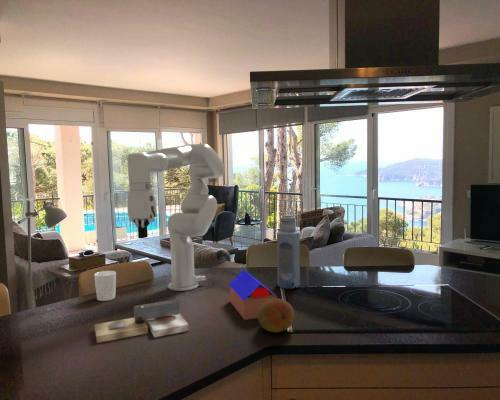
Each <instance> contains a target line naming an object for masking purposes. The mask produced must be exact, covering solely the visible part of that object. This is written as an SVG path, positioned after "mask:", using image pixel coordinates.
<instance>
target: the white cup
mask: <svg viewBox="0 0 500 400" xmlns="http://www.w3.org/2000/svg"><path fill="white" fill-rule="evenodd" d="M116 278H117V272H116V271H114V270H102V271H98V272H95V273H94V286H95V292H96V300H97V301H99V302H100V301H101V302H106V301H108V302H109V301H112V300H114V299H115V298H116V290H117V289H116V287H117V279H116Z"/></svg>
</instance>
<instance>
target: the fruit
mask: <svg viewBox="0 0 500 400" xmlns="http://www.w3.org/2000/svg"><path fill="white" fill-rule="evenodd" d="M294 319H295V311H294V307H293V306H292V305H291V303H290V302H288V301H286V300H284V299H282V298H278V297H277V298H275V299H270V300H268V301H266V302H265V303H263V304H262V306H261V307H260V309H259V313H258V318H257V320H258V324H259V325H260V326H261V327H262V329H264V330H266V331H268V332H270V333H282V332H284V331H286V330H288V329H289V328H290V327H291V326H292V324H293V323H294Z"/></svg>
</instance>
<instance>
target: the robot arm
mask: <svg viewBox="0 0 500 400" xmlns="http://www.w3.org/2000/svg"><path fill="white" fill-rule="evenodd" d="M185 166H188V173H189V178H190V187H189V189H188V191H187V192H186V195H185V196H184V197H183V200H182V202H181V204H180V211H181V212H175V213H173V214H172V213H171V215H169V217H168V219H167V230H168V231H167V232H168V235H169V241H170V261H171V263H170V264H171V265H170V266H171V282H169V284H168V286H167V287H168V290H170V291H176V292H182V291H183V292H184V291H190V290H194V289H197V288H198V287H199V281H201V282H202V281H206V279H207V278H206V275H196V274H195V252H194V251H195V250H194V249H195V248H194V242H193V240H192V238H191V237H203V236H204V235H206V233H207V232H208V230H209V229H210V226H211V225H212V222H213V220H214V219H215V216H216V213H217V211H218V201H217V199H216V197H214V196H213V195H212V194H209V187H208V185H207V183H206V182H205V180H204V179H220V178H222V177H223V176H224V174H225V170H226V168H225V164H224V162H223V160H222V159H221V158H220V156H219V154H218V153H217V152H216V151H215V149H213V148H212V147H211V146H210V145H209V144H207V143H194V144H184V145H180V146H179V145H178V146H172V147H167V148H162V149H161V148H160V149H155V150H150V151H143V152H133V153H129V154H128V155H127V174H128V175H127V178H128V190H129V191H128V192H127V193H128V194H127V206H126V208H127V216H128V217H129V221H130V222H132V223H134V225H135V227H136V228H137V237H138V239H146V238H148V236H149V235H148V227H149V225H150V224H151V223H154V222H155V221H156V219H155V218H156V217H157V215H158V212H157V211H158V210H157V205H156V204H157V203H156V198H155V193H154V191H153V190H152V188H153V184H151V183H152V182H151V174H153V173H159V174H160V173H162V172H165V170H169V169H171V170H172V169H177V168H178V169H179V168H182V167H185Z"/></svg>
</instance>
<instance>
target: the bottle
mask: <svg viewBox="0 0 500 400" xmlns="http://www.w3.org/2000/svg"><path fill="white" fill-rule="evenodd" d="M280 222H281V223H280V230H279V231H276V269H277V270H276V271H277V272H276V273H277V274H276V275H277V278H276V279H277V282H276V283H277V286H278V287H280V288H283V289H295V287H296V288H298V287H300V285H301V267H300V266H301V264H300V263H301V257H300V253H301V251H300V249H301V248H300V247H301V246H300V245H301V244H300V241H301V240H300V239H301V238H300V235H301V234H300V231H297V230H296V229H297V226H296V217H295V216H294V214H283V215H282V216H281V218H280Z"/></svg>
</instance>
